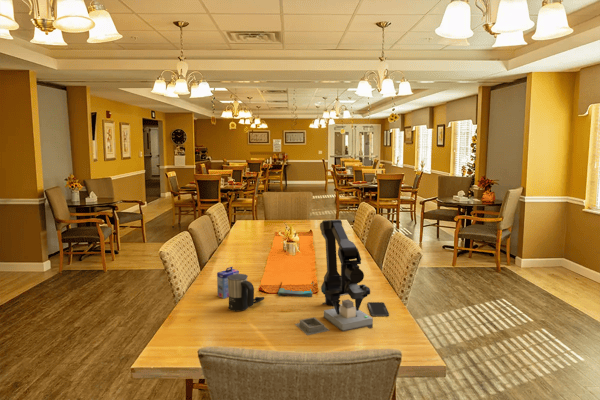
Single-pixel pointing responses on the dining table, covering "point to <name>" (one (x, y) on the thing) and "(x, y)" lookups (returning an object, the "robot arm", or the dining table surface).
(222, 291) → the ink cartridge box
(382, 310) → the phone
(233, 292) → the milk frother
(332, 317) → the port
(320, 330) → the holster
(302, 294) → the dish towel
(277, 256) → the dining table surface
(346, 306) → the plug
